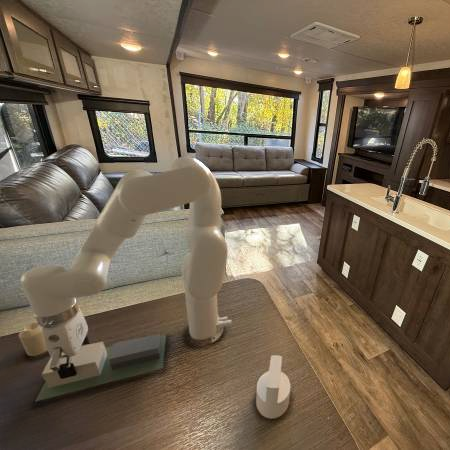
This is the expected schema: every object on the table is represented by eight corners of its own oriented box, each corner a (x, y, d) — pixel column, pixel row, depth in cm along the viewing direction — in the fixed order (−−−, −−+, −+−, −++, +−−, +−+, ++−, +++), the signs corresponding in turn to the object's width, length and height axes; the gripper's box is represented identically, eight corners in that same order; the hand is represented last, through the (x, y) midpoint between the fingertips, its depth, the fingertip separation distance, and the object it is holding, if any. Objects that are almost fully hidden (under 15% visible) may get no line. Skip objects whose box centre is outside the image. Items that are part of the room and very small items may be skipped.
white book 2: (106, 350, 74) (104, 345, 73) (98, 370, 68) (97, 366, 67) (58, 360, 69) (56, 356, 69) (46, 383, 63) (44, 379, 63)
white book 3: (107, 354, 74) (106, 349, 74) (100, 375, 68) (98, 370, 68) (60, 364, 70) (58, 360, 69) (48, 388, 64) (46, 383, 63)
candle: (38, 361, 72) (26, 336, 68) (23, 356, 73) (11, 331, 69) (59, 346, 77) (49, 321, 73) (44, 342, 78) (34, 317, 74)
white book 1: (104, 345, 73) (102, 341, 72) (96, 366, 67) (95, 361, 66) (55, 356, 69) (53, 351, 68) (43, 379, 63) (41, 374, 62)
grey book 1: (160, 338, 78) (159, 333, 78) (158, 353, 74) (157, 347, 73) (115, 348, 74) (113, 343, 73) (110, 364, 69) (108, 359, 68)
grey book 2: (161, 343, 79) (160, 338, 78) (159, 358, 75) (158, 353, 74) (116, 353, 75) (115, 348, 74) (111, 370, 70) (110, 364, 69)
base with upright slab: (259, 382, 72) (260, 353, 67) (290, 385, 72) (293, 356, 67) (253, 416, 64) (253, 386, 59) (287, 420, 64) (291, 389, 59)
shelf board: (166, 337, 83) (165, 334, 83) (163, 371, 72) (162, 368, 72) (59, 361, 73) (58, 357, 72) (36, 405, 62) (34, 401, 61)
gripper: (62, 335, 55) (82, 385, 62) (88, 288, 70) (102, 333, 76) (17, 343, 52) (42, 395, 59) (54, 293, 67) (71, 339, 73)
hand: (76, 360), depth 68 cm, fingers open, 9 cm apart
